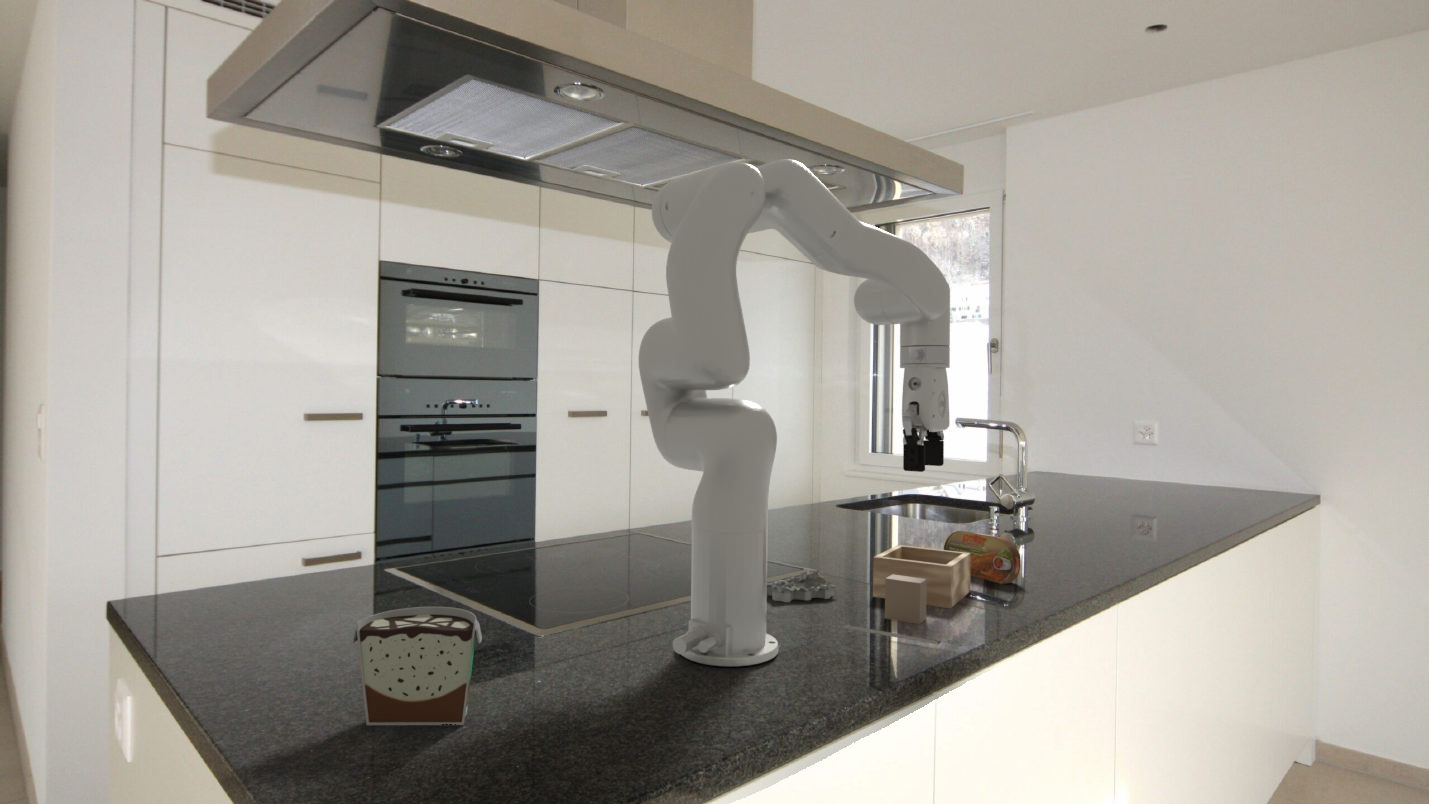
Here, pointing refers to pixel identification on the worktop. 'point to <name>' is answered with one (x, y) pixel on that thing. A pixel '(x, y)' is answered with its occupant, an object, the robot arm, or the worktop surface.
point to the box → (926, 572)
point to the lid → (903, 604)
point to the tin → (987, 555)
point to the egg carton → (801, 587)
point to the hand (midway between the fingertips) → (924, 468)
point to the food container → (417, 665)
